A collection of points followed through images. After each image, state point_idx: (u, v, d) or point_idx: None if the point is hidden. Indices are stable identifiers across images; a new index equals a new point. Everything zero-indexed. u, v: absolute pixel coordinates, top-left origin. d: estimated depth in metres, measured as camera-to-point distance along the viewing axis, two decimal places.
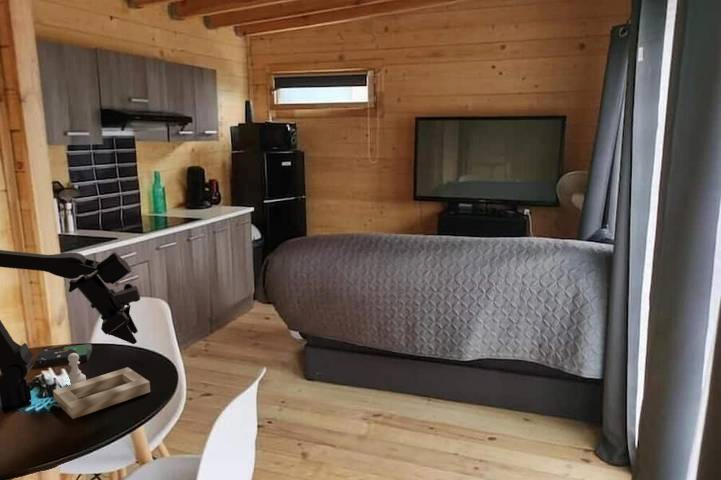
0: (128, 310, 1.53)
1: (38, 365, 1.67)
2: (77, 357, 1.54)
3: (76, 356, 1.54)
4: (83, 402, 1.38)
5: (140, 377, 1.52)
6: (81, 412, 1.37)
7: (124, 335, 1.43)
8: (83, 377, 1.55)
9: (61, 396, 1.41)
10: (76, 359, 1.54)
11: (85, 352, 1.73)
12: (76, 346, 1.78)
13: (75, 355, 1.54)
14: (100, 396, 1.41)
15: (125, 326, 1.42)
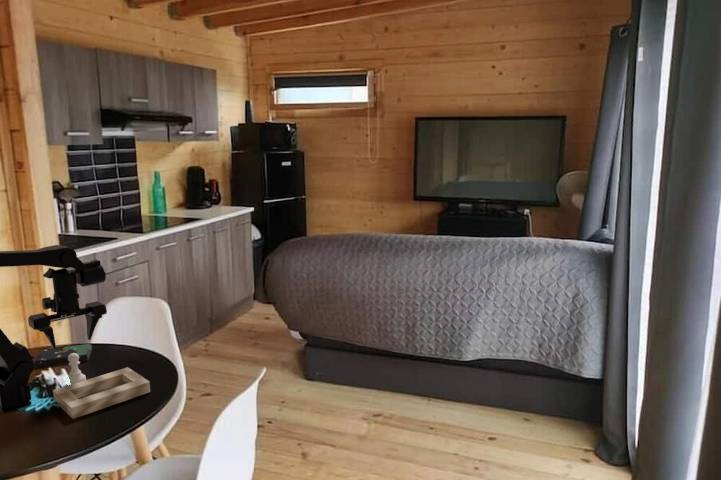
0: None
1: (38, 365, 1.67)
2: (77, 357, 1.54)
3: (76, 356, 1.54)
4: (83, 402, 1.38)
5: (140, 377, 1.52)
6: (81, 412, 1.37)
7: None
8: (83, 377, 1.55)
9: (61, 396, 1.41)
10: (76, 359, 1.54)
11: (85, 352, 1.73)
12: (76, 345, 1.78)
13: (75, 355, 1.54)
14: (100, 396, 1.41)
15: None
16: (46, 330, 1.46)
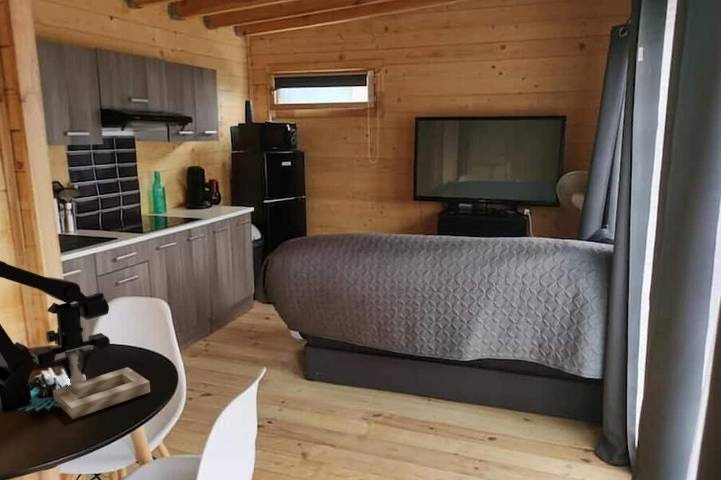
0: None
1: (38, 365, 1.67)
2: (77, 357, 1.54)
3: (76, 356, 1.54)
4: (83, 402, 1.38)
5: (140, 377, 1.52)
6: (81, 412, 1.37)
7: None
8: (83, 377, 1.55)
9: (61, 396, 1.41)
10: (76, 359, 1.54)
11: None
12: None
13: (75, 355, 1.54)
14: (100, 396, 1.41)
15: None
16: (62, 361, 1.50)
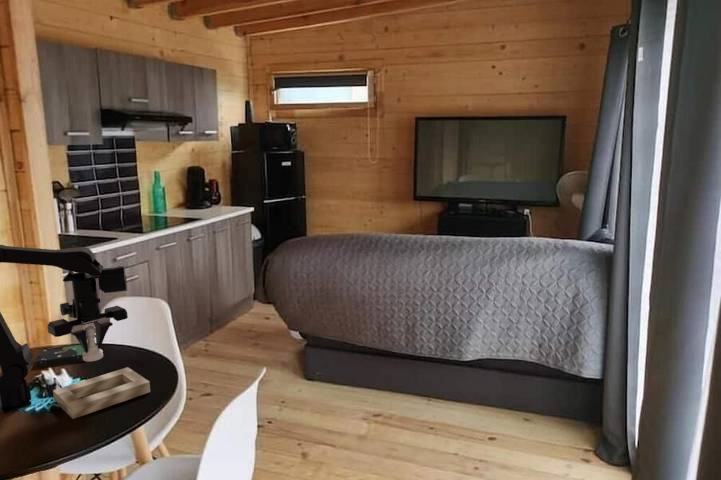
0: None
1: (39, 365, 1.67)
2: (94, 330, 1.46)
3: (93, 329, 1.46)
4: (83, 402, 1.38)
5: (140, 377, 1.52)
6: (81, 412, 1.37)
7: None
8: (100, 351, 1.48)
9: (61, 396, 1.41)
10: (93, 332, 1.46)
11: None
12: (75, 345, 1.78)
13: (92, 328, 1.46)
14: (100, 396, 1.41)
15: None
16: (79, 334, 1.42)
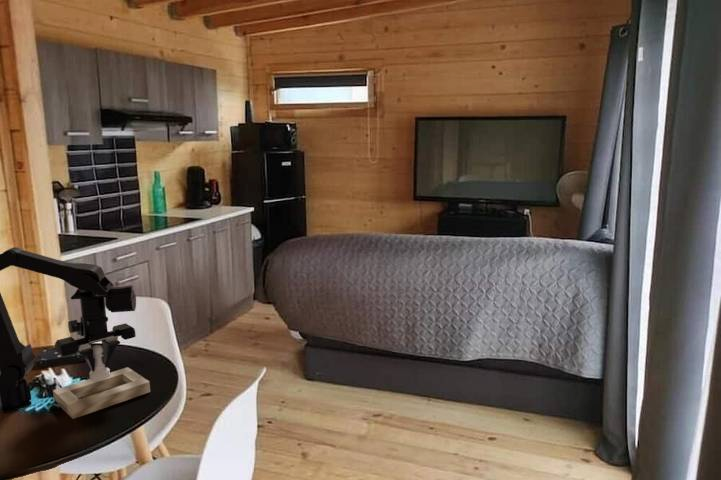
0: None
1: (39, 365, 1.67)
2: (101, 349, 1.45)
3: (100, 348, 1.45)
4: (83, 402, 1.38)
5: (140, 377, 1.52)
6: (81, 412, 1.37)
7: None
8: (107, 370, 1.46)
9: (61, 396, 1.41)
10: (100, 351, 1.45)
11: None
12: None
13: (99, 347, 1.45)
14: (100, 396, 1.41)
15: None
16: (86, 352, 1.40)
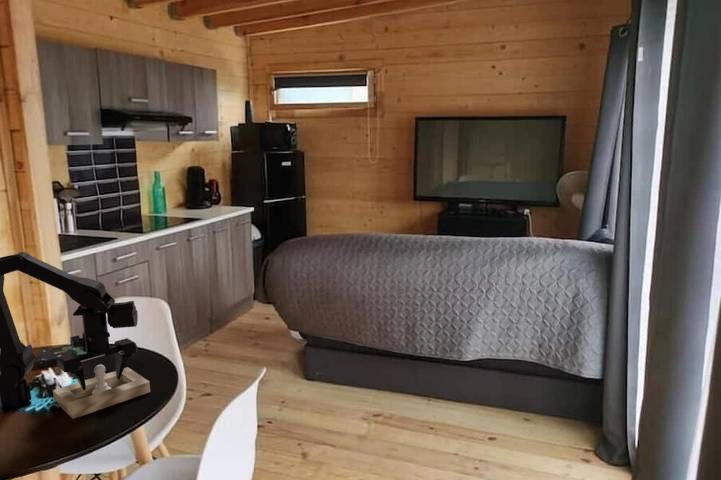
0: None
1: (39, 366, 1.67)
2: (103, 369, 1.46)
3: (102, 368, 1.46)
4: (83, 402, 1.38)
5: (140, 377, 1.52)
6: (81, 412, 1.37)
7: None
8: None
9: (61, 396, 1.41)
10: (102, 371, 1.46)
11: None
12: None
13: (101, 367, 1.46)
14: (100, 396, 1.41)
15: None
16: (77, 372, 1.39)
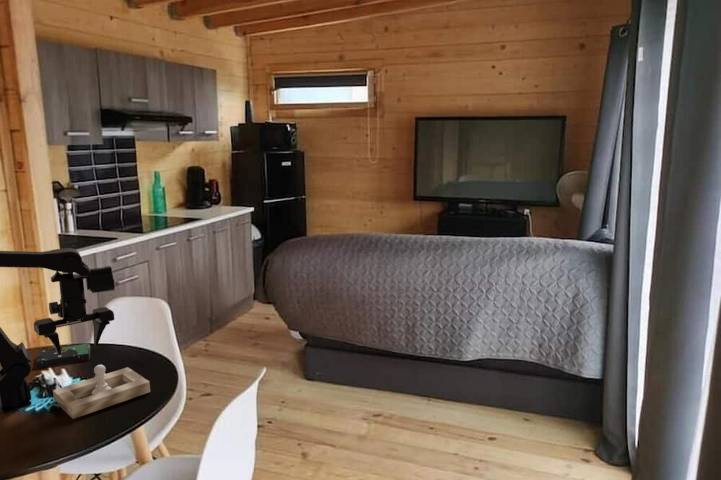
0: None
1: (39, 366, 1.67)
2: (104, 369, 1.46)
3: (102, 368, 1.46)
4: (83, 402, 1.38)
5: (140, 377, 1.52)
6: (81, 412, 1.37)
7: None
8: None
9: (61, 396, 1.41)
10: (103, 371, 1.46)
11: (86, 351, 1.74)
12: (74, 345, 1.78)
13: (101, 367, 1.46)
14: (100, 396, 1.41)
15: None
16: (51, 336, 1.41)
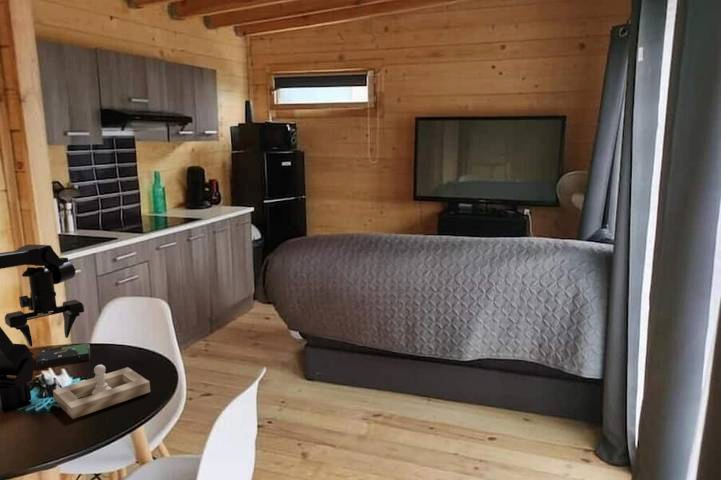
0: None
1: (40, 366, 1.67)
2: (104, 369, 1.46)
3: (102, 368, 1.46)
4: (83, 402, 1.38)
5: (140, 377, 1.52)
6: (81, 412, 1.37)
7: None
8: None
9: (61, 396, 1.41)
10: (103, 371, 1.46)
11: (86, 351, 1.74)
12: (74, 345, 1.78)
13: (101, 367, 1.46)
14: (100, 396, 1.41)
15: None
16: (22, 328, 1.47)
